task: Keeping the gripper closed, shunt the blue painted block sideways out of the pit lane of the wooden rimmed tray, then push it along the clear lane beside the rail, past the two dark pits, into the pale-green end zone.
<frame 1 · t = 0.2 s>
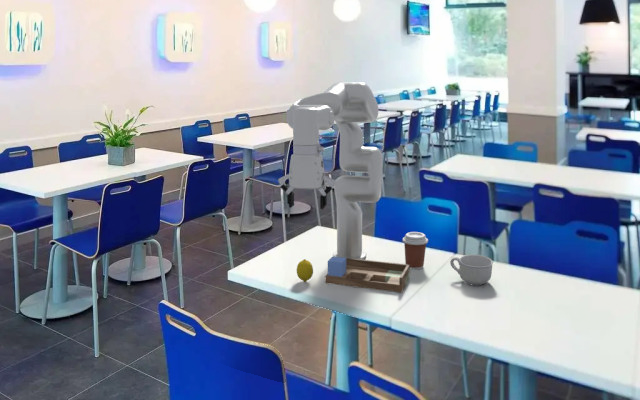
hand: (307, 207, 168), 30 cm above the table, fingers open, 9 cm apart
teacup: (470, 281, 191), on the table
wooden rimmed tray: (367, 280, 192), on the table
blue block: (337, 273, 192), point 2 cm above the table, touching wooden rimmed tray
coffee cup: (414, 266, 205), on the table
lemon: (305, 282, 192), on the table
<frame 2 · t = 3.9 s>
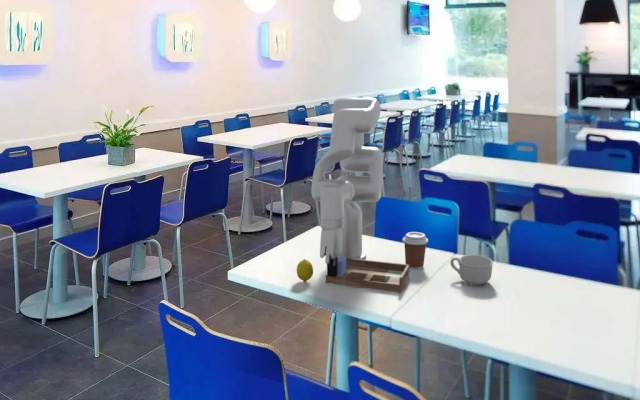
hand: (332, 275, 187), 4 cm above the table, fingers closed
blue block: (337, 273, 192), point 3 cm above the table, touching gripper, wooden rimmed tray
everything else where it was.
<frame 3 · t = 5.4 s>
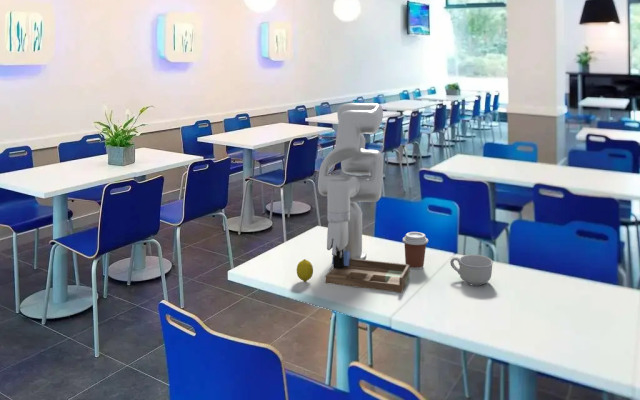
hand: (338, 267, 193), 4 cm above the table, fingers closed
blue block: (340, 265, 197), point 4 cm above the table, tilted 24°, touching gripper, wooden rimmed tray
everything else where it was.
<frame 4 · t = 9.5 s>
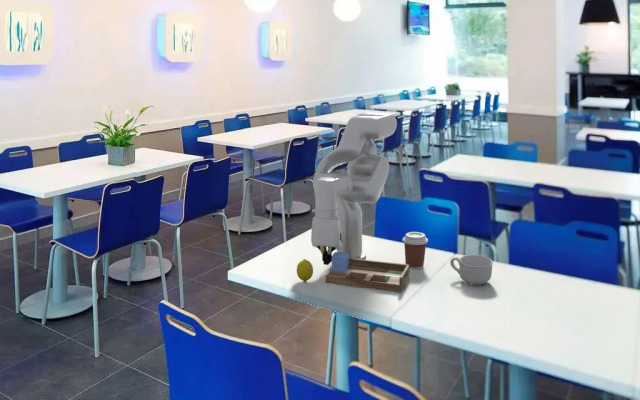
hand: (327, 263, 199), 3 cm above the table, fingers closed
blue block: (340, 268, 197), point 2 cm above the table, touching gripper, wooden rimmed tray
everything else where it was.
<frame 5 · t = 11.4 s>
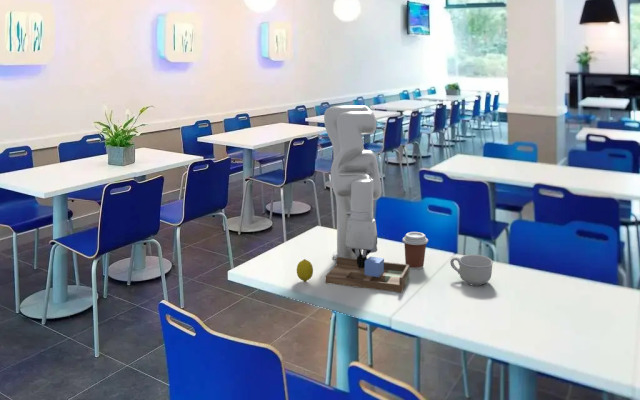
hand: (361, 266, 194), 4 cm above the table, fingers closed
blue block: (374, 273, 191), point 2 cm above the table, touching gripper, wooden rimmed tray
everything else where it was.
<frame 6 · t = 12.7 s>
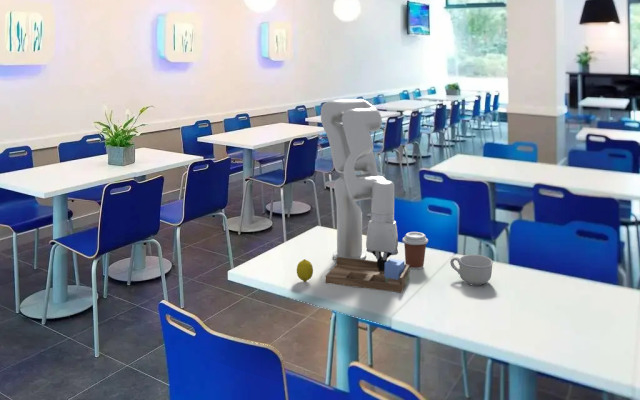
hand: (381, 269, 192), 4 cm above the table, fingers closed
blue block: (394, 276, 189), point 3 cm above the table, touching gripper
everything else where it was.
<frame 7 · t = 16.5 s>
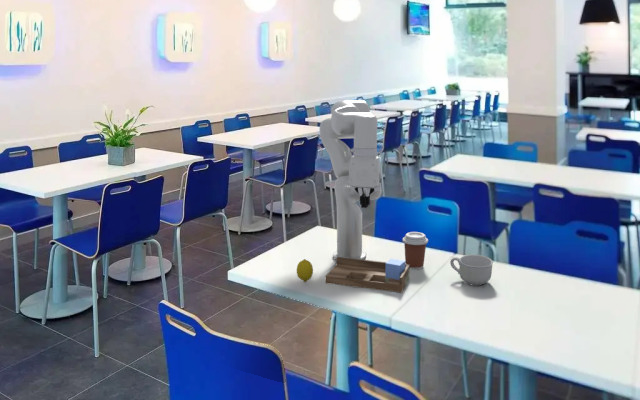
hand: (364, 206, 189), 25 cm above the table, fingers closed
blue block: (395, 276, 189), point 2 cm above the table, touching wooden rimmed tray
everything else where it was.
at the end: blue block 2.1 cm from the target spot, point 2.5 cm above the table; blue block tilted 0° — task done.
